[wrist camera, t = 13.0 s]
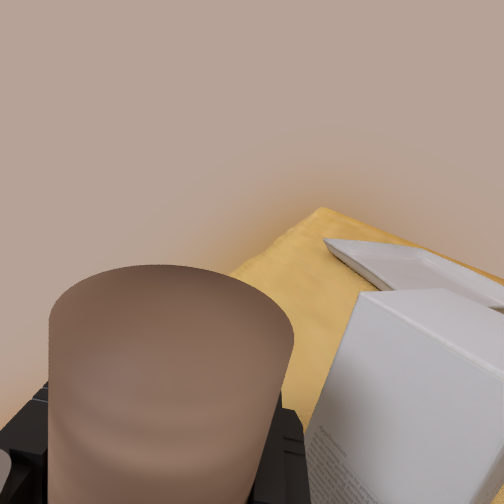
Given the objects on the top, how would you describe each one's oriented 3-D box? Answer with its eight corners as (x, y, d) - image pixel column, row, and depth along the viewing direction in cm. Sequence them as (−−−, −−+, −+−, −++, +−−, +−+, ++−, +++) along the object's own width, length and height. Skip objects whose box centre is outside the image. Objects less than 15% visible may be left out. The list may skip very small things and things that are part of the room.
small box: (360, 458, 22) (442, 284, 18) (457, 561, 17) (593, 353, 13) (269, 511, 17) (357, 287, 13) (368, 676, 12) (547, 396, 9)
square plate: (315, 253, 66) (320, 235, 65) (416, 262, 76) (422, 246, 74) (413, 329, 42) (424, 303, 41) (543, 328, 52) (554, 307, 51)
